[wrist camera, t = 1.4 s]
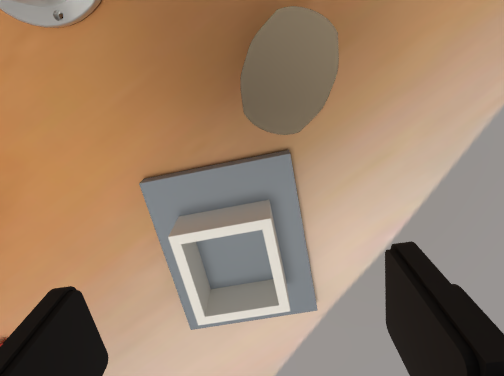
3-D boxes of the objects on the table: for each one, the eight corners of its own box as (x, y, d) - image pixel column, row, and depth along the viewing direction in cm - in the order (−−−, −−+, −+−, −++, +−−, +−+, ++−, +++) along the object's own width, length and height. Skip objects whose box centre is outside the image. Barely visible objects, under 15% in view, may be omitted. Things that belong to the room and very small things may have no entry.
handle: (240, 94, 32) (227, 118, 18) (262, 26, 30) (265, -8, 16) (286, 110, 33) (308, 145, 18) (311, 44, 30) (356, 26, 16)
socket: (143, 178, 35) (122, 200, 30) (288, 149, 34) (294, 166, 28) (193, 321, 42) (183, 360, 37) (315, 301, 41) (324, 339, 35)
